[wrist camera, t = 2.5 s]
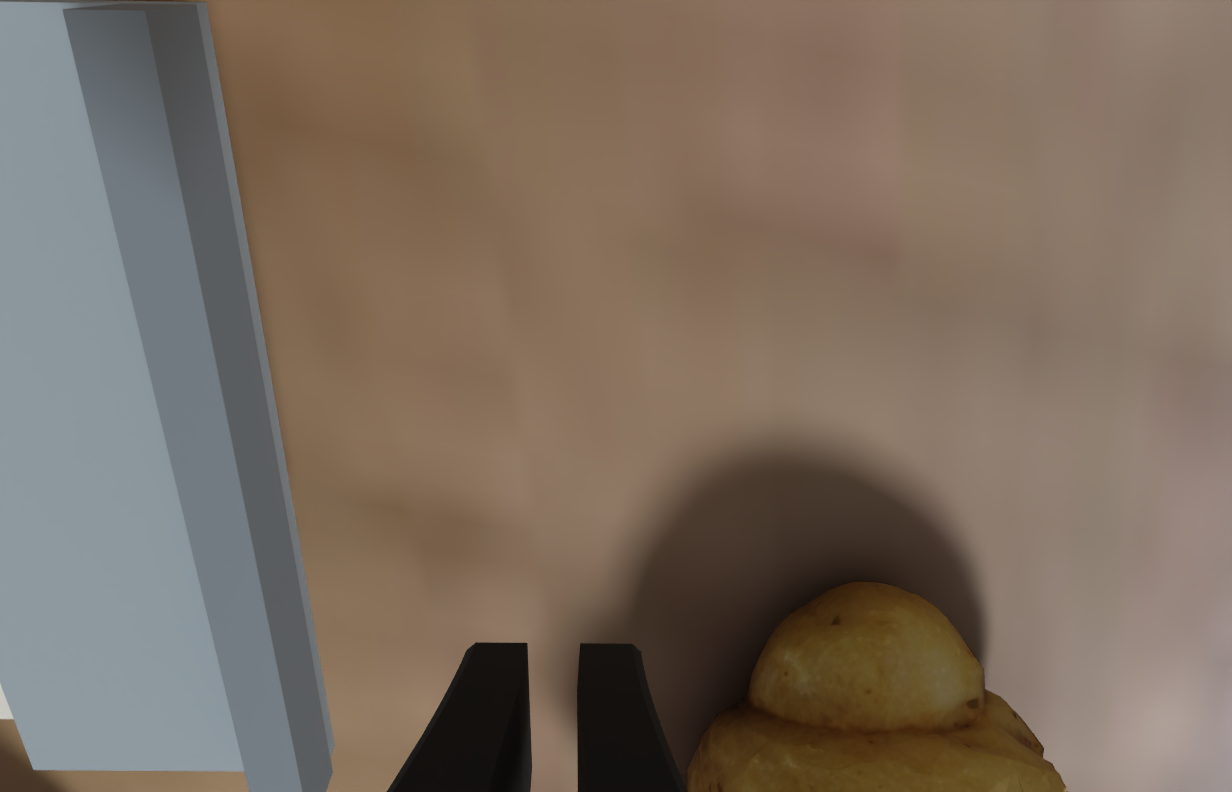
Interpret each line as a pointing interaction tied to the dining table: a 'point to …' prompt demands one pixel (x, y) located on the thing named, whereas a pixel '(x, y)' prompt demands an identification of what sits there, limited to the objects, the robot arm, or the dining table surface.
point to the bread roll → (869, 708)
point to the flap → (141, 417)
